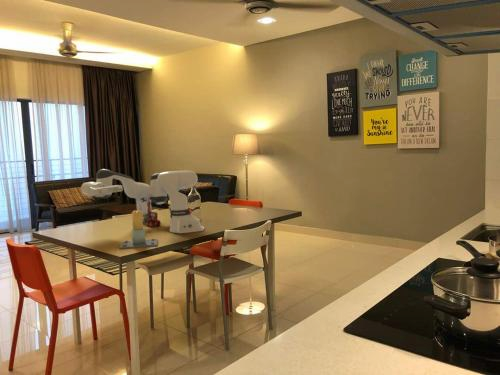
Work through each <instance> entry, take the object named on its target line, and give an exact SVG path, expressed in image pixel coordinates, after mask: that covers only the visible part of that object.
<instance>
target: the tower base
mask: <svg viewBox="0 0 500 375" xmlns="http://www.w3.org/2000/svg"><path fill="white" fill-rule="evenodd" d="M145 230H146V229H145V228H144V227H143V229H142V230H133V228H132V229H131V236H132V240H124V241H121V243H120V246H119V250H129V249H139V248H152V247H158V242H159V241H158V238H151V239H150V238H149V239H146V231H145Z"/></svg>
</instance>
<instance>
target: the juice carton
mask: <svg viewBox="0 0 500 375" xmlns="http://www.w3.org/2000/svg"><path fill="white" fill-rule="evenodd" d="M149 198H150V197H145V198H135V202H136V203H135V206H136V211H138V210H141V211H142V217H143V223H144V222H145V223H146V221H148V214H149V211H151V212H153V210H152V201H151V200H150V199H149Z"/></svg>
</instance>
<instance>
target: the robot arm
mask: <svg viewBox="0 0 500 375" xmlns="http://www.w3.org/2000/svg"><path fill="white" fill-rule="evenodd" d="M95 176H96V181H88V182H83V183H82V184H81V186H80V187H81V188H80V192H81V193H82V194H83V195H85V196H88V197H94V198H97V199H108V198H109V197H111V196H112V194H113V193H118V192H123V190H124V194H125V195H126V196H127V197H129V198H131V199H136V198H145V197H150V198H149V199H150V200H151V203H152V204H156V205H162V204H165V203H167V201H168V198H169V205H170V206H169V207H170V209H169V210H170V211H169V217H170V224H169V225H170V227H169V230H168V231H169V232H170V233H173V234H175V233H176V234H189V233H196V232H202V231H204V230H205V227H204V225H201V221H200V219H199V218H198V217H196V216H195V215H193V214H192V213H193V210H192V209H190V208H189V204H188V202H189V201H188V196H187V195H186V194H184V193H182V192H180V190H185V189H187V188H190V187H194V186H196V185H197V183H198V181H199V179H198V175H197V173H196V172H195V171H194V170H187V169H186V170H171V171H170V170H169V171H164V172H160V173H159V172H157V173H153V174H151V176H150V178H149V179H150V184H148V183H144V182H138V181H135V180H134V179H133V178H132V176H130V175H126V174H123V173H120V172H119V173H118V172H116V171H115V172H114V171H112V170H110V169H107V168H106V169H105V168H102V169H99V170H97V172H96V174H95ZM113 179H115V180H118V181H120V182H121V184H122V185H121V184H120V185H119V184H115V185H113Z"/></svg>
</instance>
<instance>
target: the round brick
mask: <svg viewBox="0 0 500 375" xmlns="http://www.w3.org/2000/svg"><path fill="white" fill-rule="evenodd" d="M131 215H132V216H131V217H132V219H131V220H132V229H133V230H142V229H143V228H144V222H143V217H142V211H141V210H138V211H137V209H136V210H133V211H131Z"/></svg>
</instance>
